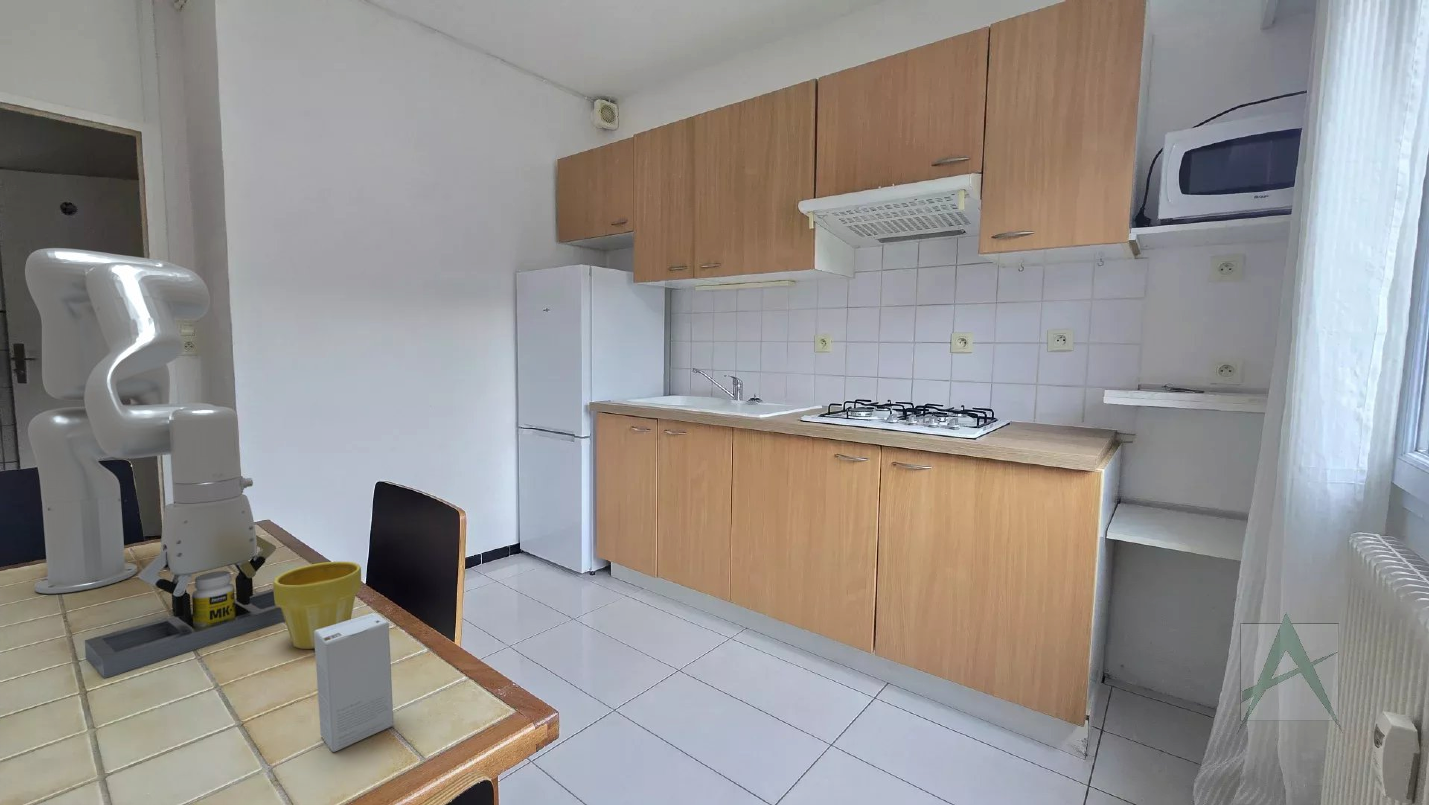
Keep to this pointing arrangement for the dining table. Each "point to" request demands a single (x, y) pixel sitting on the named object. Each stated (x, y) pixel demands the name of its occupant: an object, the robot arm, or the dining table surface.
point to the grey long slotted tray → (176, 636)
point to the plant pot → (316, 598)
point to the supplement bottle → (213, 599)
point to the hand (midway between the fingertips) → (214, 609)
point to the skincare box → (353, 680)
